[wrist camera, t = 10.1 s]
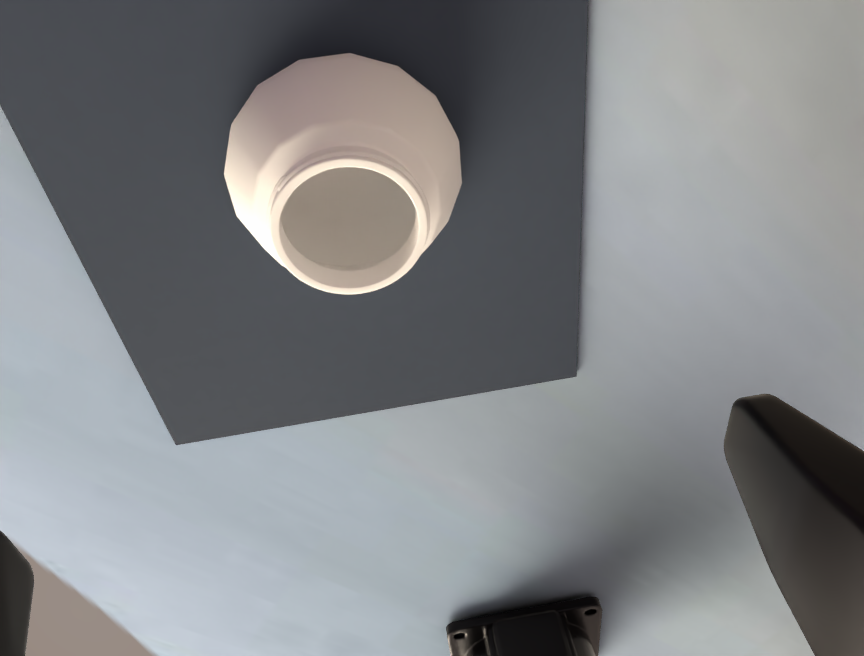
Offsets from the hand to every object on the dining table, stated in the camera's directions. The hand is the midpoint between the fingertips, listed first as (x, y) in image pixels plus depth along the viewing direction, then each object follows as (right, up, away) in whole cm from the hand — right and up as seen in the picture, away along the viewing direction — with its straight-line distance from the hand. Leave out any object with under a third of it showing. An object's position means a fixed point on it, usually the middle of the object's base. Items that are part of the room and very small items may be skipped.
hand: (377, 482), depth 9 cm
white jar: (-1, +6, +7) cm, 9 cm away
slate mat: (-2, +6, +7) cm, 9 cm away
